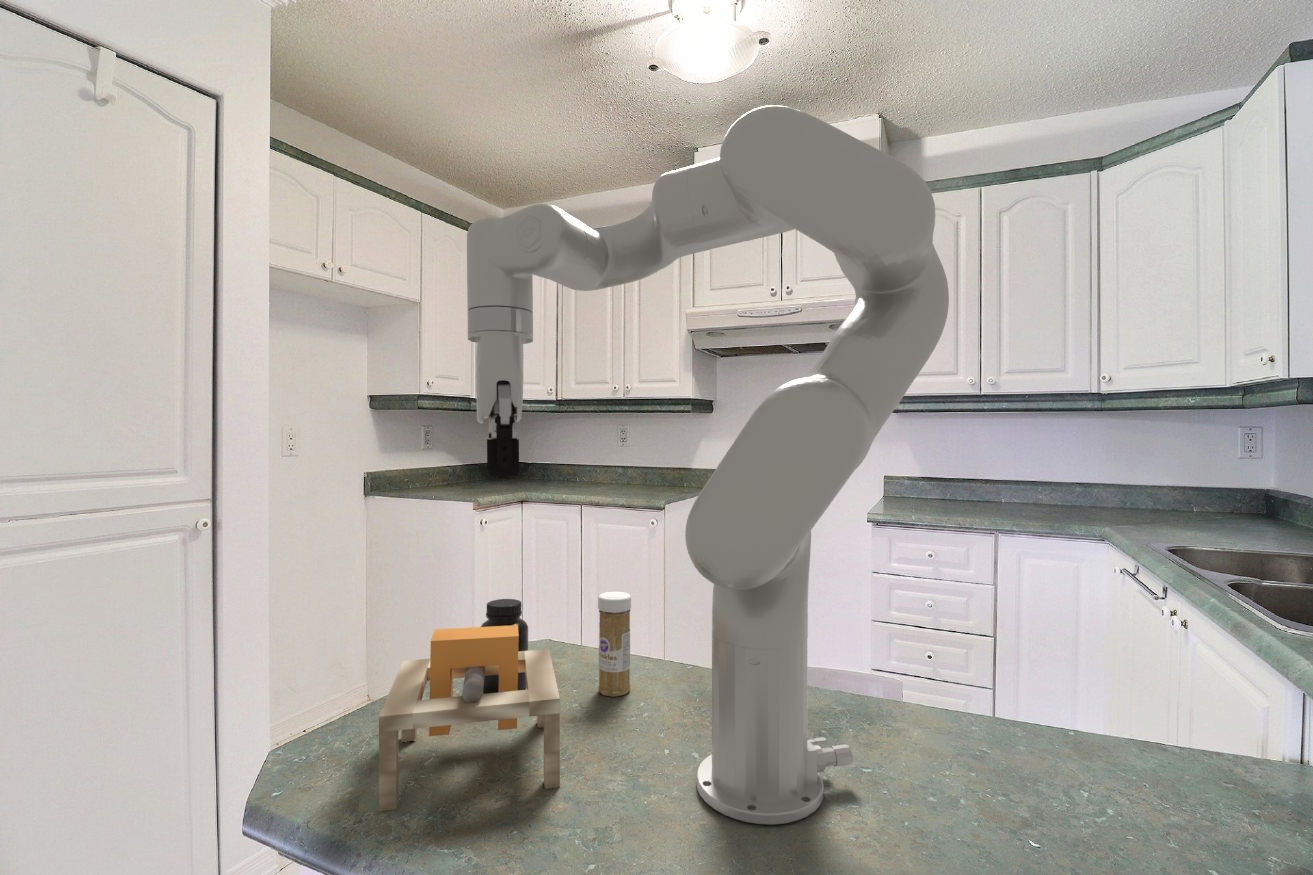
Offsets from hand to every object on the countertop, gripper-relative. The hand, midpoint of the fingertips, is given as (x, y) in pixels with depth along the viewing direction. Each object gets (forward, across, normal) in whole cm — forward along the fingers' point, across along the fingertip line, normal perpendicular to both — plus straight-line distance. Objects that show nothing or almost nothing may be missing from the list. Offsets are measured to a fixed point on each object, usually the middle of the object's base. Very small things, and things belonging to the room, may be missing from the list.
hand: (502, 473), depth 74 cm
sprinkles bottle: (+31, -9, +15) cm, 36 cm away
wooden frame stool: (+31, +5, -3) cm, 32 cm away
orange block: (+27, +5, -3) cm, 28 cm away
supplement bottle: (+31, -14, 0) cm, 34 cm away
